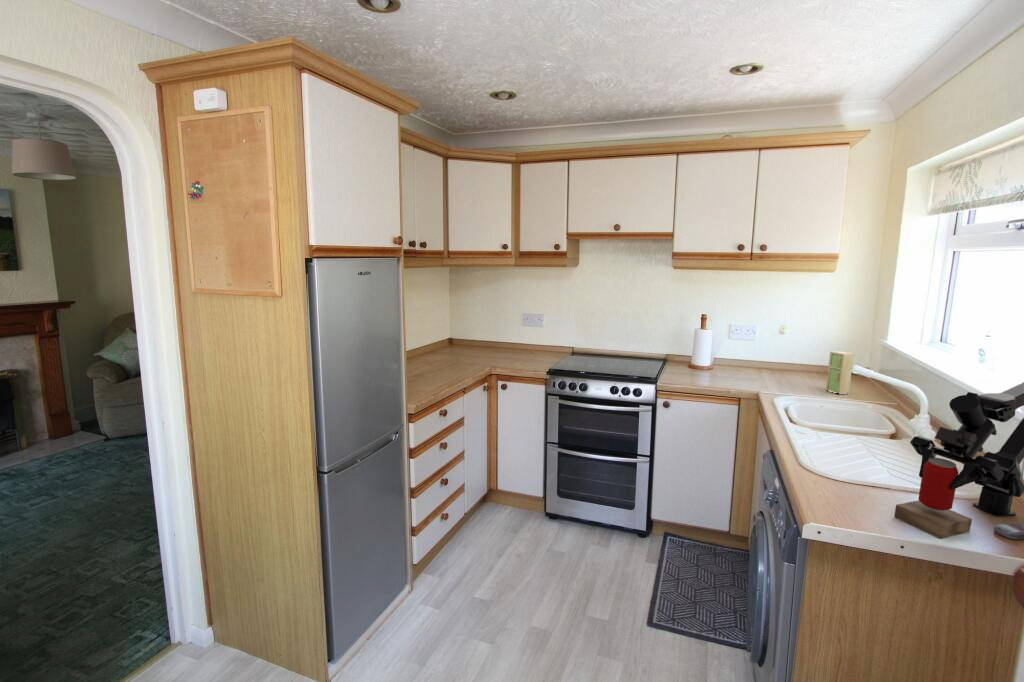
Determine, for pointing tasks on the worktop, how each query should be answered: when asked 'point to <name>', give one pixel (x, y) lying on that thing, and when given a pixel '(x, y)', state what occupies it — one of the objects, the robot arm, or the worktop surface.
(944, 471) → the beverage can
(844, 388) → the toy refrigerator
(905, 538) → the worktop surface
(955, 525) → the walnut block
